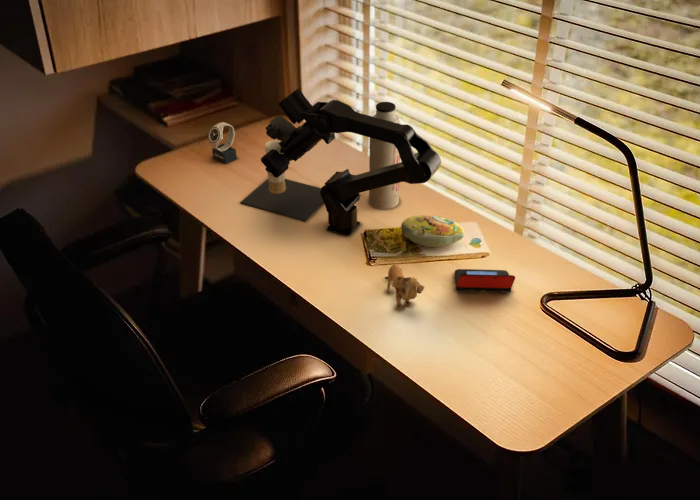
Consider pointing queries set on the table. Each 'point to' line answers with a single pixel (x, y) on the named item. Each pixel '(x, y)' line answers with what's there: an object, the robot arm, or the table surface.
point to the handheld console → (483, 280)
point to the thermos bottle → (384, 160)
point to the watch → (224, 150)
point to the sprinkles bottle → (274, 183)
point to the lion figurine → (403, 286)
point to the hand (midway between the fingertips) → (271, 166)
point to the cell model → (431, 230)
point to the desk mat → (287, 200)
